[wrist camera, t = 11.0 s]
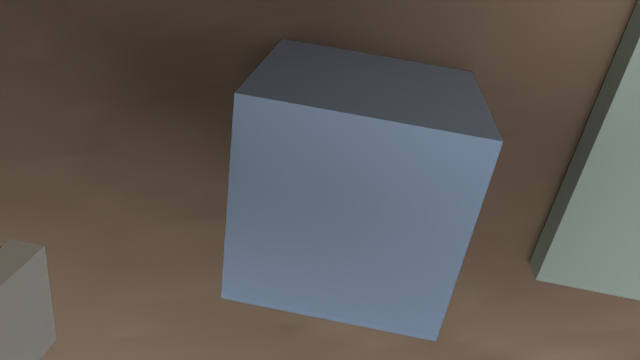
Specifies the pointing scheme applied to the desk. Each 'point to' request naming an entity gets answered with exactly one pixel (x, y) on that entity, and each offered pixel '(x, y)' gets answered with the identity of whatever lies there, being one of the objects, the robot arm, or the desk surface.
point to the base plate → (601, 190)
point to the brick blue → (355, 186)
